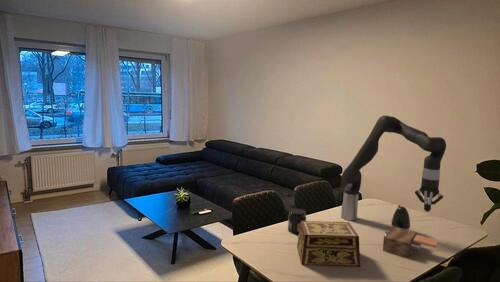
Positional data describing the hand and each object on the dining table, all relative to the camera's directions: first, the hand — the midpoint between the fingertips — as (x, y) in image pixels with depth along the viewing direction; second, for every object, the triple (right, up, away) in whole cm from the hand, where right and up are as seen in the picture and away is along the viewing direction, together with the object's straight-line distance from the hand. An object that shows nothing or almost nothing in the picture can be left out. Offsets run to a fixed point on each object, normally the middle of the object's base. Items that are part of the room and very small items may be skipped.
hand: (427, 211), depth 159 cm
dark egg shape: (+1, -19, +32) cm, 37 cm away
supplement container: (-61, -18, +29) cm, 70 cm away
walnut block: (-9, -22, +10) cm, 26 cm away
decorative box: (-50, -23, 0) cm, 55 cm away
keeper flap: (-4, -15, +5) cm, 16 cm away
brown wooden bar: (-8, -21, +9) cm, 24 cm away
